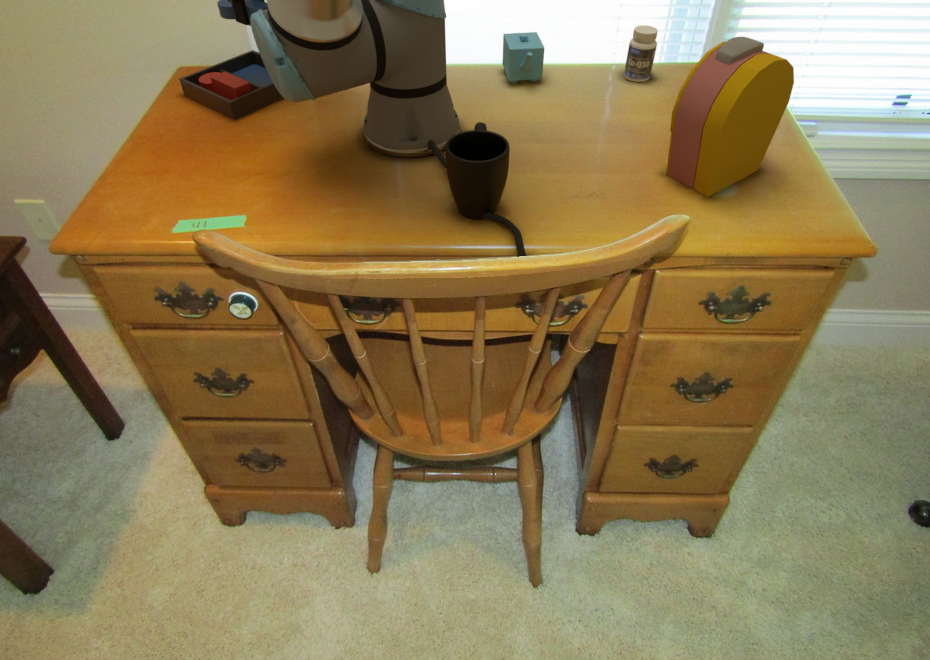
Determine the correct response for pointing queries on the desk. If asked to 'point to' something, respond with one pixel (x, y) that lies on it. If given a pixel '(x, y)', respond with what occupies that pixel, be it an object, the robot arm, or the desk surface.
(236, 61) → the organizer
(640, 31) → the pill bottle
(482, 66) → the desk surface
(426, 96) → the robot arm
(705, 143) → the alarm clock
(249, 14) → the blue round-headed block
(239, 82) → the red rounded-end block
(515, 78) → the teapot
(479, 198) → the mug
